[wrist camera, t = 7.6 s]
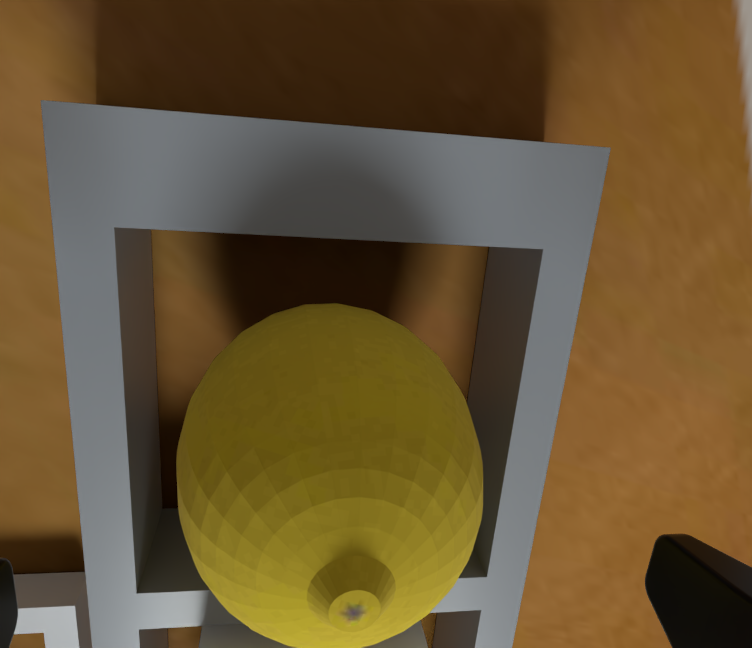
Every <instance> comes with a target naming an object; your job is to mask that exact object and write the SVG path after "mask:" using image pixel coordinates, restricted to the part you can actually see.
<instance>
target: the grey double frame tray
mask: <svg viewBox="0 0 752 648" xmlns="http://www.w3.org/2000/svg"><path fill="white" fill-rule="evenodd" d="M41 108H42V119H43V129H44V140H45V151H46V161H47V172H48V182H49V193H50V204H51V214H52V225H53V235H54V246H55V257H56V267H57V278H58V288H59V299H60V310H61V320H62V331H63V342H64V352H65V363H66V373H67V384H68V395H69V405H70V416H71V426H72V437H73V448H74V458H75V469H76V479H77V490H78V501H79V511H80V522H81V532H82V543H83V554H84V564H85V575H86V585H87V596H88V607H89V617H90V628H91V639H92V648H168V631H167V628H175V627H192V626H210V625H227V624H244V623H242V622H241V621H240V620H238V619H237V618H236V617H234V616H233V615H232V614H230V613H229V612H228V611H227V610H226V609H225V608H224V606H223V605H222V604H221V603H220V602H219V601H218V599H217V598H216V597H215V595H214V594H213V593H212V591H211V590H210V589H209V587H208V586H207V585H206V583H205V582H204V581H203V580H202V578H201V576H200V574H199V572H198V570H197V568H196V566H195V563H194V561H193V558H192V555H191V553H190V550H189V547H188V544H187V542H186V539H185V536H184V533H183V530H182V526H181V522H180V517H179V510H178V508H166V509H162V486H161V462H160V438H159V414H158V390H157V366H156V342H155V318H154V294H153V269H152V245H151V229H157V230H176V231H196V232H215V233H235V234H254V235H274V236H294V237H313V238H333V239H352V240H372V241H391V242H411V243H430V244H450V245H469V246H489V252H488V259H487V266H486V273H485V280H484V287H483V295H482V302H481V309H480V316H479V323H478V330H477V337H476V344H475V351H474V358H473V365H472V372H471V379H470V386H469V393H468V400H467V406H468V408H469V412H470V415H471V418H472V422H473V425H474V428H475V432H476V435H477V438H478V442H479V446H480V450H481V456H482V462H483V511H482V519H481V523H480V527H479V530H478V533H477V537H476V540H475V544H474V547H473V550H472V553H471V555H470V558H469V560H468V562H467V564H466V566H465V567H464V569H463V571H462V573H461V574H460V576H459V578H458V579H457V581H456V583H455V585H454V586H453V588H452V589H451V590H450V591H449V592H448V593H447V595H446V596H445V597H444V598H443V599H442V600H441V601H440V602H439V603H438V604H437V605H436V606H435V607H434V608H433V610H432V611H431V612H430V613H437V618H436V625H435V632H434V639H433V646H432V648H512V645H513V639H514V634H515V629H516V624H517V619H518V614H519V609H520V604H521V599H522V594H523V589H524V584H525V579H526V574H527V569H528V564H529V559H530V553H531V548H532V543H533V538H534V533H535V528H536V523H537V518H538V513H539V508H540V503H541V498H542V493H543V488H544V483H545V478H546V473H547V467H548V462H549V457H550V452H551V447H552V442H553V437H554V432H555V427H556V422H557V417H558V412H559V407H560V402H561V397H562V392H563V387H564V381H565V376H566V371H567V366H568V361H569V356H570V351H571V346H572V341H573V336H574V331H575V326H576V321H577V316H578V311H579V306H580V301H581V296H582V290H583V285H584V280H585V275H586V270H587V265H588V260H589V255H590V250H591V245H592V240H593V235H594V230H595V225H596V220H597V215H598V210H599V204H600V199H601V194H602V189H603V184H604V179H605V174H606V169H607V164H608V159H609V154H610V149H611V148H606V147H595V146H584V145H573V144H561V143H550V142H539V141H527V140H515V139H503V138H491V137H479V136H467V135H455V134H443V133H431V132H419V131H407V130H395V129H383V128H371V127H359V126H348V125H336V124H324V123H312V122H300V121H288V120H276V119H264V118H252V117H240V116H228V115H216V114H204V113H192V112H180V111H168V110H157V109H145V108H133V107H121V106H109V105H97V104H84V103H71V102H57V101H44V100H41Z"/></svg>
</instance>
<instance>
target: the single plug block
mask: <svg viewBox="0 0 752 648" xmlns="http://www.w3.org/2000/svg"><path fill="white" fill-rule="evenodd" d="M199 648H296V647H290V646H287V645H284V644H282V643H280V642H277V641H275V640H272V639H270V638H268V637H265V636H263V635H261V634H259V633H257V632H255V631H253V630H251V629H250V628H249V627H248V626H246V625H245V624H227V625H210V626H202V630H201V636H200V642H199ZM361 648H428V645H427V642H426V638H425V635H424V631H423V627H422V624H421V620H420V621H418V622H417V623H415V624H414V625H412V626H411V627H409V628H408V629H406V630H405V631H404V632H402V633H399V634H397V635H395V636H393V637H390V638H388V639H386V640H383V641H381V642H379V643H377V644H374V645H370V646H366V647H361Z"/></svg>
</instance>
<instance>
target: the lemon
mask: <svg viewBox="0 0 752 648" xmlns="http://www.w3.org/2000/svg"><path fill="white" fill-rule="evenodd" d="M176 468H177V494H178V510H179V517H180V522H181V526H182V530H183V533H184V536H185V539H186V542H187V544H188V547H189V550H190V553H191V555H192V558H193V561H194V563H195V566H196V568H197V570H198V572H199V574H200V576H201V578H202V580H203V581H204V582H205V583H206V585H207V586H208V587H209V589H210V590H211V591H212V593H213V594H214V595H215V597H216V598H217V599H218V601H219V602H220V603H221V604H222V605H223V606H224V608H225V609H226V610H227V611H228V612H229V613H230V614H232V615H233V616H234V617H236V618H237V619H238V620H240V621H241V622H242V623H244V624H245V625H246V626H248V627H249V628H250V629H251V630H253V631H255V632H257V633H259V634H261V635H263V636H265V637H268V638H270V639H272V640H275V641H277V642H280V643H282V644H284V645H287V646H290V647H296V648H361V647H366V646H370V645H374V644H377V643H379V642H381V641H383V640H386V639H388V638H390V637H393V636H395V635H397V634H399V633H402V632H404V631H405V630H406V629H408V628H409V627H411V626H412V625H414V624H415V623H417V622H418V621H420V620H421V619H422V618H424V617H425V616H427V615H428V614H429V613H430V612H431V611H432V610H433V608H434V607H435V606H436V605H437V604H438V603H439V602H440V601H441V600H442V599H443V598H444V597H445V596H446V595H447V593H448V592H449V591H450V590H451V589H452V588H453V586H454V585H455V583H456V581H457V579H458V578H459V576H460V574H461V573H462V571H463V569H464V567H465V566H466V564H467V562H468V560H469V558H470V555H471V553H472V550H473V547H474V544H475V540H476V537H477V533H478V530H479V527H480V523H481V519H482V511H483V462H482V456H481V450H480V446H479V442H478V438H477V435H476V432H475V428H474V425H473V422H472V418H471V415H470V412H469V408H468V406H467V403H466V400H465V398H464V396H463V394H462V392H461V390H460V389H459V387H458V386H457V384H456V382H455V381H454V379H453V378H452V376H451V375H450V373H449V372H448V370H447V368H446V367H445V365H444V364H443V362H442V361H441V359H440V358H439V357H438V356H437V354H436V353H434V352H433V351H432V350H431V349H430V348H429V347H428V346H427V345H425V344H424V343H423V342H422V341H421V340H420V339H419V338H418V337H416V336H415V335H414V334H413V333H412V332H411V331H410V330H408V329H407V328H406V327H404V326H403V325H401V324H399V323H397V322H395V321H393V320H391V319H389V318H386V317H384V316H382V315H380V314H378V313H376V312H374V311H372V310H367V309H363V308H358V307H353V306H348V305H343V304H338V303H330V304H305V305H301V306H298V307H295V308H291V309H288V310H284V311H281V312H277V313H274V314H272V315H270V316H269V317H267V318H265V319H263V320H262V321H260V322H258V323H256V324H255V325H253V326H251V327H249V328H248V329H246V330H244V331H242V332H241V333H240V334H239V335H238V336H237V337H236V338H235V339H234V340H233V341H232V342H231V343H230V344H229V345H228V346H227V347H226V348H225V349H224V350H223V351H222V352H221V353H220V354H218V355H217V357H216V358H215V359H214V360H213V361H212V363H211V365H210V366H209V368H208V370H207V371H206V373H205V375H204V377H203V378H202V380H201V382H200V383H199V385H198V387H197V388H196V390H195V392H194V394H193V395H192V397H191V400H190V402H189V405H188V408H187V412H186V416H185V419H184V423H183V427H182V431H181V435H180V439H179V443H178V448H177V458H176Z"/></svg>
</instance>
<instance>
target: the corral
mask: <svg viewBox="0 0 752 648" xmlns="http://www.w3.org/2000/svg"><path fill="white" fill-rule="evenodd" d="M13 576H14V583H15V590H16V597H17V604H18V619H17V625H16V629H15V632H14V634H27V633H44V639H45V647H46V648H92V639H91V628H90V617H89V607H88V596H87V585H86V575H85V572H66V573H41V574H17V575H13Z"/></svg>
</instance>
